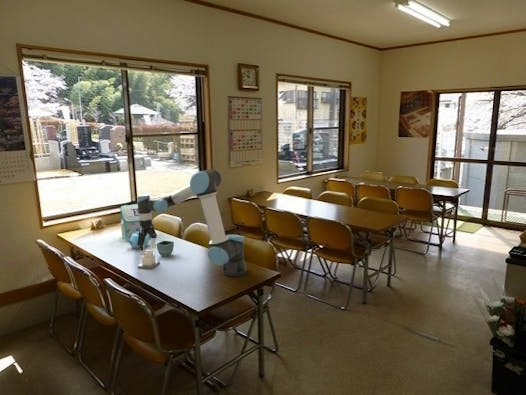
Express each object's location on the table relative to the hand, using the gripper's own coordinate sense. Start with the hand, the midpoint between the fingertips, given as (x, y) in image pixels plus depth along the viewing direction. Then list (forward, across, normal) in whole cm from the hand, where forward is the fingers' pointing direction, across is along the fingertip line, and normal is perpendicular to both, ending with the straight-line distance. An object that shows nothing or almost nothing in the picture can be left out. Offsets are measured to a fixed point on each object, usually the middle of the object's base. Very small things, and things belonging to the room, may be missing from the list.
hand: (148, 251), depth 246 cm
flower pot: (+10, -20, +1) cm, 22 cm away
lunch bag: (+9, -55, -41) cm, 69 cm away
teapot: (+9, -33, -27) cm, 43 cm away
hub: (+10, 0, -1) cm, 10 cm away
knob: (+8, 0, 0) cm, 8 cm away
